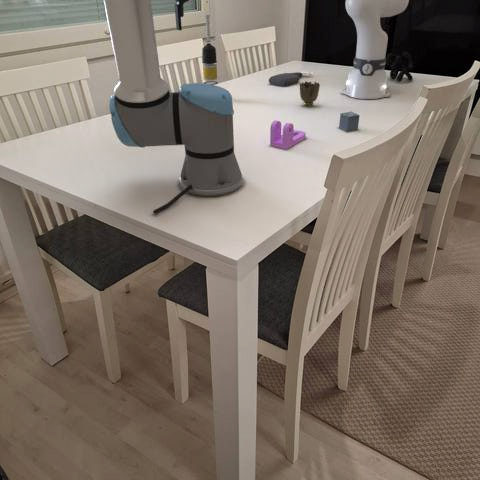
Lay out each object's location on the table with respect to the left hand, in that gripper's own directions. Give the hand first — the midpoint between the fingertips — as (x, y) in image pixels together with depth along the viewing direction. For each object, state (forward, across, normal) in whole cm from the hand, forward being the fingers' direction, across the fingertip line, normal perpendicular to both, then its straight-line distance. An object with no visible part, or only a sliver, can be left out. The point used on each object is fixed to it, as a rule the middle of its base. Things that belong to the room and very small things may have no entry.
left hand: (156, 31), depth 127 cm
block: (+30, -54, +22) cm, 66 cm away
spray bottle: (+30, -72, -46) cm, 91 cm away
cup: (+30, -57, -7) cm, 65 cm away
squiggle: (+30, -115, -24) cm, 121 cm away
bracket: (+30, -32, +24) cm, 50 cm away
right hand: (-6, -88, +26) cm, 92 cm away
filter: (+30, -28, -34) cm, 53 cm away
